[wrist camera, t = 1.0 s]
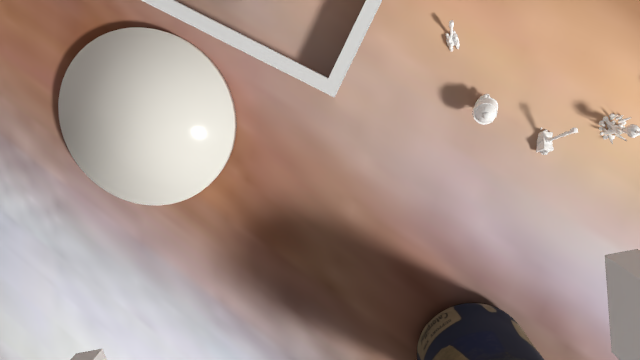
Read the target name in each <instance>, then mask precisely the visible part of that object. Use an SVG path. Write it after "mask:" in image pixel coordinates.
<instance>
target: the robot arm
mask: <svg viewBox="0 0 640 360" xmlns="http://www.w3.org/2000/svg"><path fill="white" fill-rule="evenodd" d="M605 266H606V280H607V294H608V308H609V322H610V336H611V350H612V353H613V354H614V355H615V356H616V357H617V358H618V359H619V360H640V250H638V249H635V250H630V251H625V252H619V253H614V254H608V255H605ZM71 360H107V359H106V357H105V354H104V352H103V349H98V350H93V351H88V352H82V353H77V354H75V355H74V356H73V358H72V359H71Z"/></svg>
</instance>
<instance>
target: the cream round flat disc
mask: <svg viewBox="0 0 640 360" xmlns="http://www.w3.org/2000/svg"><path fill="white" fill-rule="evenodd" d="M58 109H59V121H60V127H61V131H62V134H63V138H64V140H65V143H66V145H67V147H68V150H69V151H70V153H71V155H72V157H73V159H74V160H75V161H76V163H77V164H78V166H79V167H80V168H81V169H82V171H83V172H84V173H85V174H86V175H87V176H88V177H89V178H90V179H91V180H92V181H93V182H95V183H96V184H97V185H98V186H100V187H101V188H102V189H104V190H105V191H107V192H109V193H111V194H112V195H114V196H116V197H118V198H121V199H123V200H126V201H129V202H133V203H137V204H143V205H167V204H173V203H177V202H181V201H183V200H186V199H188V198H191V197H192V196H194V195H196V194H197V193H199V192H201V191H202V190H203V189H204V188H206V187H207V186H208V185H209V184H211V183H212V182H213V181H214V180H215V178H216V177H217V176H218V175H219V174H220V173H221V171H222V170H223V169H224V167H225V165H226V163H227V162H228V160H229V158H230V155H231V153H232V150H233V147H234V142H235V138H236V127H237V122H236V111H235V105H234V101H233V98H232V94H231V91H230V89H229V87H228V85H227V82H226V80H225V79H224V77H223V75H222V74H221V72H220V70H219V69H218V68H217V66H216V65H215V64H214V63H213V61H212V60H211V59H210V58H209V57H208V56H207V55H206V54H205V53H204V52H203V51H201V50H200V49H199V48H197V47H196V46H195V45H193V44H192V43H190V42H188V41H187V40H185V39H183V38H181V37H179V36H176V35H174V34H172V33H168V32H164V31H161V30H156V29H150V28H143V27H131V28H124V29H118V30H115V31H111V32H108V33H106V34H104V35H102V36H99V37H97V38H96V39H94V40H93V41H91V42H90V43H88V44H87V45H86V46H85V47H84V48H83V49H82V50H81V51H80V52H79V53H78V54H77V55H76V57H75V58H74V59H73V60H72V62H71V64H70V65H69V67H68V69H67V71H66V73H65V76H64V78H63V80H62V84H61V88H60V93H59V102H58Z"/></svg>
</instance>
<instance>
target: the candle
mask: <svg viewBox="0 0 640 360" xmlns="http://www.w3.org/2000/svg"><path fill="white" fill-rule="evenodd" d="M417 360H544V359H543V358H542V356H541V355H540V354H539V352H538V351H537V350H536V348H535V347H534V346H533V344H532V343H531V341H530V340H529V338H528V337H527V336H526V334H525V333H524V331H523V330H522V329H521V327H520V326H519V325H518V323H517V322H516V321H515V320H514V319H513V318H512V317H510V316H509V315H508V314H507V313H505V312H504V311H502V310H500V309H498V308H496V307H493V306H490V305H486V304H480V303H466V304H460V305H456V306H453V307H450V308H448V309H446V310H444V311H442V312H441V313H439V314H438V315H436V316H435V317H434V318H433V319H432V320H431V321H430V322H429V323H428V324H427V325H426V326H425V327H424V329H423V331H422V333H421V336H420V338H419V341H418V346H417Z"/></svg>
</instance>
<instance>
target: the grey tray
mask: <svg viewBox="0 0 640 360" xmlns="http://www.w3.org/2000/svg"><path fill="white" fill-rule="evenodd" d="M142 1H144V2H146V3H148V4H149V5H151V6H153V7H155V8H157V9H159V10H161V11H163V12H165V13H167V14H169V15H171V16H173V17H175V18H177V19H179V20H181V21H183V22H185V23H187V24H189V25H191V26H193V27H195V28H197V29H199V30H201V31H203V32H205V33H207V34H209V35H211V36H213V37H215V38H217V39H219V40H221V41H223V42H225V43H227V44H229V45H231V46H233V47H235V48H237V49H239V50H241V51H243V52H245V53H247V54H249V55H251V56H253V57H255V58H257V59H259V60H261V61H263V62H265V63H267V64H269V65H271V66H273V67H275V68H277V69H279V70H281V71H283V72H285V73H287V74H289V75H291V76H293V77H295V78H297V79H299V80H301V81H303V82H305V83H307V84H309V85H311V86H313V87H315V88H317V89H319V90H321V91H323V92H324V93H326V94H328V95H330V96H332V97H335V95H336V93H337V91H338V89H339V87H340V85H341V83H342V81H343V79H344V77H345V75H346V73H347V71H348V69H349V67H350V65H351V63H352V61H353V59H354V56H355V54H356V52H357V50H358V48H359V46H360V44H361V42H362V40H363V38H364V36H365V34H366V32H367V30H368V28H369V26H370V24H371V22H372V20H373V18H374V16H375V14H376V12H377V10H378V8H379V6H380V4H381V2H382V0H366V1H365V3H364V5H363V8H362V10H361V12H360V14H359V16H358V18H357V20H356V22H355V24H354V26H353V28H352V30H351V32H350V35H349V37H348V39H347V41H346V43H345V45H344V47H343V49H342V51H341V53H340V55H339V57H338V59H337V61H336V64H335V66H334V68H333V70H332V72H331V74H330V76H329V78H328V77H326V76H324V75H322V74H320V73H318V72H316V71H314V70H312V69H310V68H308V67H306V66H304V65H302V64H300V63H298V62H296V61H294V60H292V59H290V58H288V57H286V56H284V55H282V54H280V53H278V52H276V51H274V50H272V49H270V48H268V47H266V46H265V45H263V44H261V43H259V42H257V41H255V40H253V39H251V38H249V37H247V36H245V35H243V34H241V33H239V32H237V31H235V30H233V29H231V28H229V27H227V26H225V25H223V24H221V23H219V22H217V21H215V20H213V19H211V18H209V17H207V16H205V15H203V14H201V13H199V12H197V11H195V10H193V9H191V8H189V7H187V6H185V5H183V4H182V3H180V2H178V1H176V0H142Z"/></svg>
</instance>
